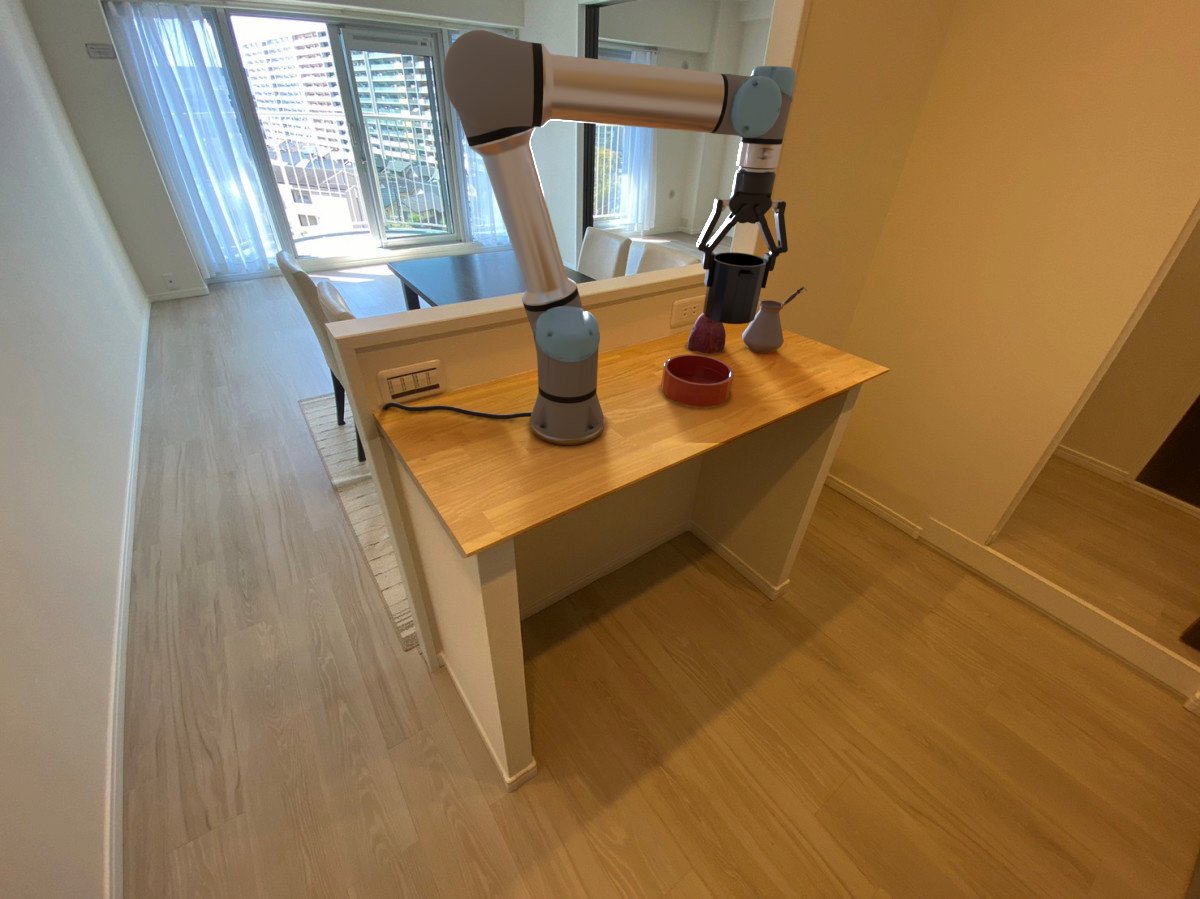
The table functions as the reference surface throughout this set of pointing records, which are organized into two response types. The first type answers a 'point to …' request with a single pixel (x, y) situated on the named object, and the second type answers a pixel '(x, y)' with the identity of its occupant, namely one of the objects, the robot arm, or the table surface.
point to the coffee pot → (766, 326)
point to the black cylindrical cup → (734, 288)
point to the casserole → (696, 380)
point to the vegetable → (707, 336)
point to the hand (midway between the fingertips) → (734, 285)
